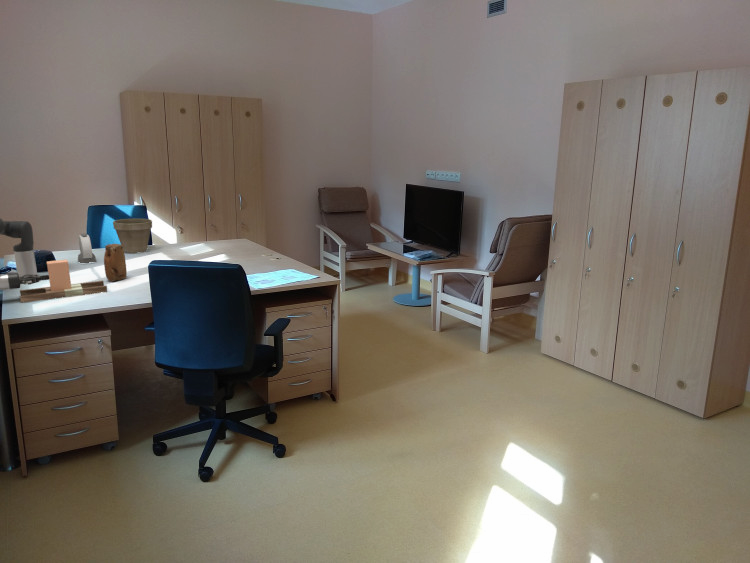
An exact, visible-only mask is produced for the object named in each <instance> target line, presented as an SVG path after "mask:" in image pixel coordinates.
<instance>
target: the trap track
mask: <svg viewBox="0 0 750 563" xmlns="http://www.w3.org/2000/svg"><path fill="white" fill-rule="evenodd" d="M107 287H108V286H107V285H105V282H104V280H97V281H96V280H95V281H87V282H80V283H79V282H78V283H71V288H72V289H65V290H57V291H51V288H50V286H44V287H36V288H29V289H21V290H20V289H19V294H20V296H19V298H20V303H21V304H23V302H24V303H30V302H32V303H33V302H38V301H48V300H54V299H55V298H56V299H63V298H71V297H78V296H85V294H87V295H93V294H94V293H95V294H100V293H101V292H103V293H108V288H107ZM62 297H63V298H62ZM56 299H55V300H56Z"/></svg>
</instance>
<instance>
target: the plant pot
mask: <svg viewBox="0 0 750 563" xmlns="http://www.w3.org/2000/svg"><path fill="white" fill-rule="evenodd" d="M112 225H113V229H114V230H115V232H116V235H117V238H118V240H119V244H121V245H123V250H124V253H125V252H126V253H125V254H138V253H137V252H142V253H145V252H146V251H147V250H148V245H149V240H150V234H151V229H152V228H153V220H152V219H149V218H124V219H123V218H122V219H121V218H120V219H116V220H113V221H112ZM144 251H145V252H144Z"/></svg>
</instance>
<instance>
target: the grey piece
mask: <svg viewBox="0 0 750 563" xmlns="http://www.w3.org/2000/svg"><path fill="white" fill-rule="evenodd" d="M91 242H92V241H91V238H90V235H89V234H87V233H80V235H78V246H79V251H80V252H79V254H78V255H77V256H78V257H77V263H78V262H80V263H89V262H96V263H97V258H96V256H95V254H94V253H93V248H92V243H91Z"/></svg>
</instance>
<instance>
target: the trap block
mask: <svg viewBox="0 0 750 563" xmlns="http://www.w3.org/2000/svg"><path fill="white" fill-rule="evenodd" d="M46 267H47V272H48V274H47V275H49V280H48V281H49V287H50V288H51V291H57V290H65V289H72V288H71V284H72V283H71V282H72V281H71V275H70V267H69V261H68V259H59V260H58V259H57V260H50V261H46Z"/></svg>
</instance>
